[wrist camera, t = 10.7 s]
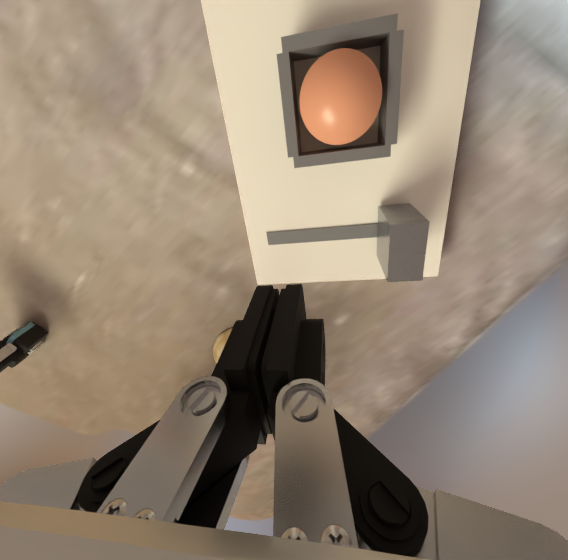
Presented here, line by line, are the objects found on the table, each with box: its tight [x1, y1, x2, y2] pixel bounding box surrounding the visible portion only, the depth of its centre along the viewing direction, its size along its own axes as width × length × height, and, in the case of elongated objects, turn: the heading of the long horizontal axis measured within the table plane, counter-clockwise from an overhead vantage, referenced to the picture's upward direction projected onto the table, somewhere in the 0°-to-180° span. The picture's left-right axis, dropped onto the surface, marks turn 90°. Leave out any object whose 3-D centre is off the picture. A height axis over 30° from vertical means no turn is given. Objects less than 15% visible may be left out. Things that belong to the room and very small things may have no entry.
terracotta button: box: [299, 48, 382, 145], centre depth 15 cm, size 4×4×3 cm
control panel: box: [201, 0, 480, 285], centre depth 16 cm, size 14×24×4 cm, turn 8°
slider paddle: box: [377, 203, 430, 282], centre depth 18 cm, size 2×4×4 cm, turn 8°
